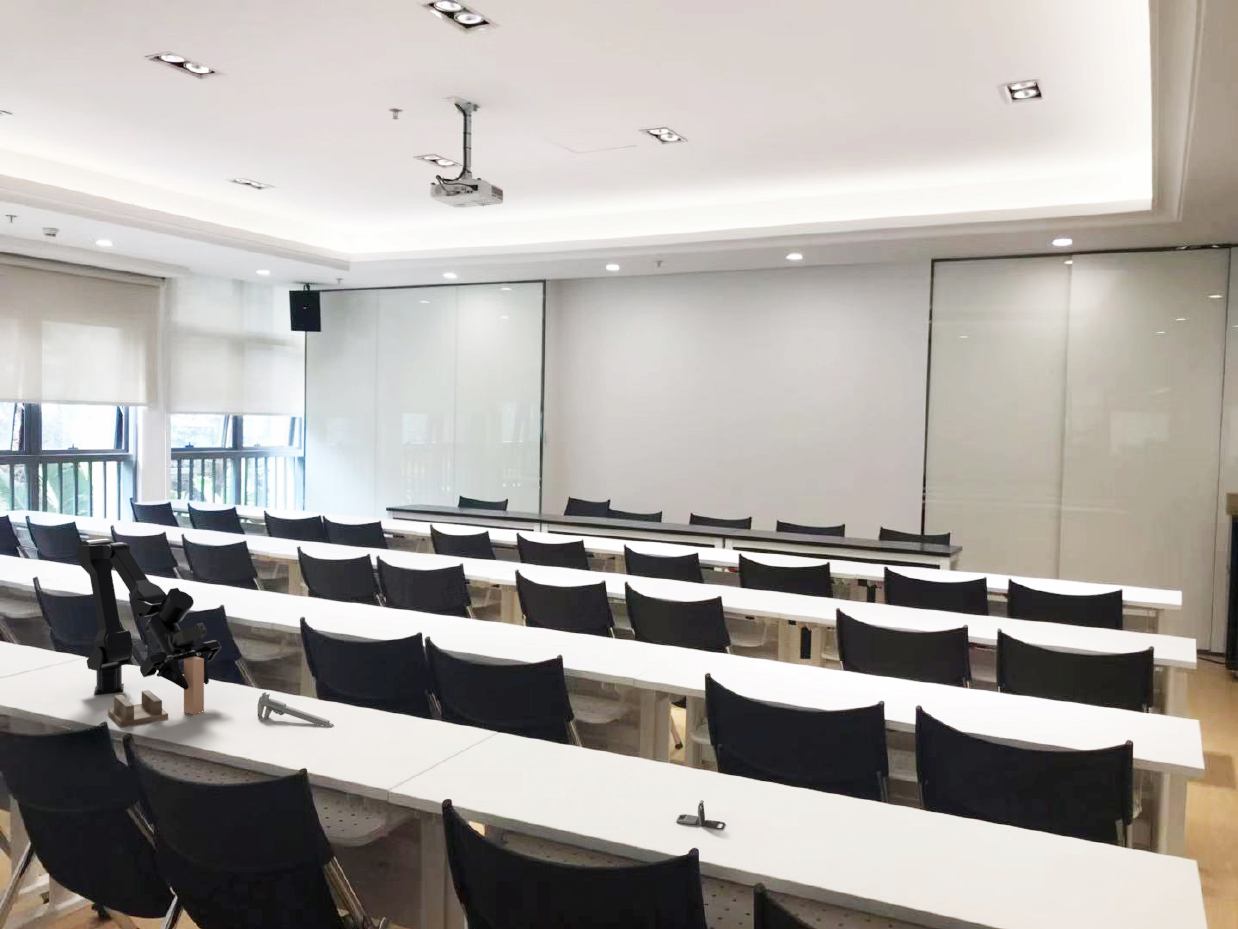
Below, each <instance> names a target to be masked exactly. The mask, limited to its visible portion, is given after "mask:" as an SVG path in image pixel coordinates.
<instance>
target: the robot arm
mask: <svg viewBox="0 0 1238 929" xmlns="http://www.w3.org/2000/svg"><path fill="white" fill-rule="evenodd" d="M76 555H77V557H78V560H79V564H80V567H81V568H82V569H83V570H84V571H85V573H87V574H88V575H89V578H90V584H91V591H92V596H93V597H92V598H93V602H94V607H95V608H94V609H95V615H96V618H97V619H96V621H97V626H98V631H97V634H96V636H95V639H94V641H93V651H92V653H91V654H89V657H88V658H86V659H87V660H86V665H87V666H86V667H87V669H88V670H91V671H92V670H93V671H95V672H96V685H95V687H94V691H93V692H94V693H93V694H94V695H98V694H99V695H101V694H108V693H121V692H123V691H124V686H125V683H122V682H123V679H122V677H123V675H122V673H123V672H122V670H123V668H122V666H126V665H130V664H131V660H132V656H133V652H134V643H133V639H132V633H131V631H130V630H125V628H123V626H121V621H120V616H119V615H120V613H119V609H118V604H117V598H116V592H115V586H114V580H113V575H112V570H113V569H115V571H116V573H117V574H118V576H119V578H120V579H121V580H122V582H123V584H124V585H125V587H126V588H127V590H128V592H129V593H130V597H129V603H130V606H131V608H132V611H133V612H134V614H135V615H136V616H137V617H139V618H144V617H150V616H151V618H150V619H149V620H146V625H145V626H144V632H145V633H148V632H151V633H152V635H153V636H154V638H155V640H156V642H157V645H156V650H157V651H159V650H161V651H159V652H155V653H151V654H148V655H147V657H146V658H145V660H144V661H143V662H142V664H141V665H140V667H139V672H140V673H141V675H142V677H143V678H147V677H151V676H155V675H156V676H157V678H159V677H161V678H163V679H165V680H167V681H169V682H171V683H173V684H175V685H176V686H178V687H180V688H182V689H183V690H184V689H185V690H187V689H188V688H189V686H188V683H187V681H186V679H185V677H184V673H183V672H182V670H181V669H180V665H179V664H180V662H184V659H186V658H190V657H199V658H204V685H208V684H209V683H210V679H209V678H210V677H209V671H208V662H211V661H212V660H214V659H215V657H216V656H217V655H218V653H219V652H220V651H221V649H222V648H223V647H222V645H221V644H220V642H219V641H218V640H215V639H213V640H209V641H204V642H202V643H200V645H199V646H198V648H197V649H193V648H195V647H196V645H197V643H196V642H197V641H201V640H203V639H204V637H205V636H207V634H208V629H207V627H206V626H205V624H204V623H203V622H200V623H196V624H195V625H193V626H192V627H188V628H180V626H179V625H178V623H180V622H182V621H183V619H184V618H185V617H186V615H187V614H188V613H189V611H190V610H191V609H192V607H193V606H194V603H195V602H194V599H193V596H192V595H190V594H188V593H187V592H186V591H183V590H182V591H181V590H180V588H178V587H174V588H170V589H169V590H168V592H167V594H166V592H165V591H164V590H163V589H162V588H161V587H160V586H159V585H158V584H155V583H153V582H151V581H150V580H149V578H148V576H147V575H146V574H145V573H144V571H143V569H142V567H140V564H139V563H138V561H137V559H135V557H134V555H133V554H132V553H131V550H130V546H129V544H128V543H126V542H121V541H119V542H118V541H116V542H115V541H112V540H111V539H109V538H99V539H89V540H83V541H82V542H80V544H79V546H77V549H76ZM192 649H193V650H192ZM157 671H158V672H157Z"/></svg>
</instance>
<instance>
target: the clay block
mask: <svg viewBox="0 0 1238 929" xmlns="http://www.w3.org/2000/svg"><path fill="white" fill-rule="evenodd" d="M183 676H184V677H185V679H186V681H187V683H188V686H189V688H188V689H187V690H185V689H183V713H185V712H186V713H185V714H188V713H190V714H189V715H192V714H193V716H194V714H195V715H197V714H196V713H198V714H200V713H199V712H201V713H203V712H202V711H204V712H205V683H204V658H199V657H190V658H186V659H184V661H183Z"/></svg>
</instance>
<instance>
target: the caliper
mask: <svg viewBox="0 0 1238 929" xmlns="http://www.w3.org/2000/svg"><path fill="white" fill-rule="evenodd" d="M270 695H271V694H270V693H268V694H267V693H266V692H263V693H262V694H261V696H259V698H258V702H257V717H258V718H262V717H263V714H264V717H263V719H265V718H266V719H268V718H269V717H270V715H271V713H272V712H273V713H274V714H277V715H280V716H283V715H285V714H286V715H289V716H292V717H294V718H297V719H300V720H303V721H307V722H309V723H312V724H315V725H317V724H318V725H317V726H320V725H323V726H322V727H326V726H327V727H330V728H332V727H334V726H335V725H334V723H332V722H330V720H329V719H327V718H324V717H320V716H317V715H315V714H312V713H308V712H307V711H306V712H305V711H303V710H300V709H297V708H294V707H291V706H289V705H287V703H285V702H282V701H279V700H276V699H275V698H274V699H273V698H270ZM265 707H266V708H265ZM264 709H265V711H264Z"/></svg>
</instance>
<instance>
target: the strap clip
mask: <svg viewBox="0 0 1238 929" xmlns="http://www.w3.org/2000/svg"><path fill="white" fill-rule="evenodd" d="M704 806H705V805H704V800H702V799H701V800H700V801H699V803H698V805H697V815H692V814H687V813H685V814H684V813H683V814H679V815H678V817H677V819H676V824H678V825H682V826H683V825H684V826H690V827H696V826H698V825H699V826H700V827H702V828H705V829H710V830H719V831H722V830H724V828H725V825H726V823H725V822H723V821H718V820H710V819H706V815H705V813H706V812H705V807H704ZM719 824H720V825H722V826H721V827H718V825H719Z"/></svg>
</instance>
